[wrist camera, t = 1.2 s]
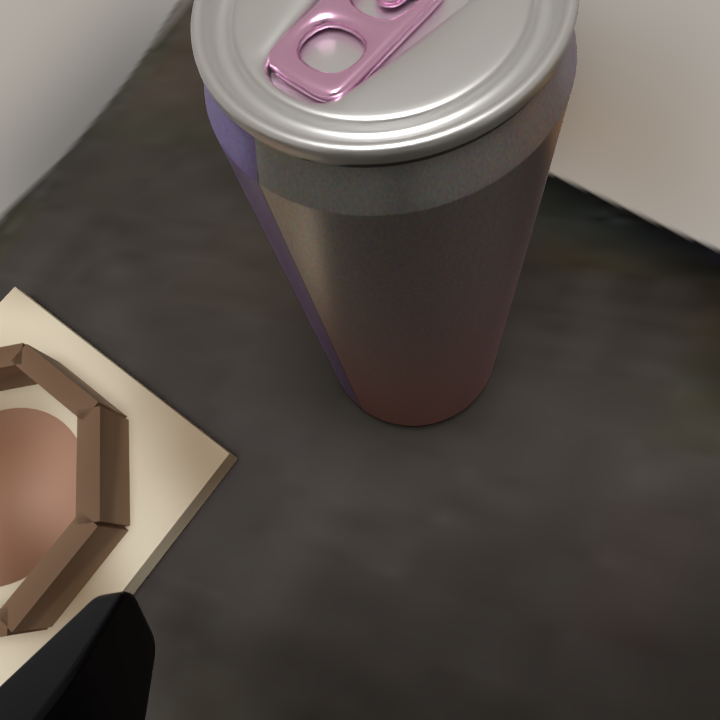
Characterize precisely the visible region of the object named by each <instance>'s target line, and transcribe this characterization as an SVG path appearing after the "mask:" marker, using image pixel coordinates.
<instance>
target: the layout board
mask: <svg viewBox="0 0 720 720" xmlns="http://www.w3.org/2000/svg"><path fill="white" fill-rule="evenodd" d="M237 460H238V458H237V457H236V456H234V455H233V454H232V453H231V452H229V451H228V450H227V449H225V448H224V447H223V446H222V445H220V444H219V443H218V442H216V441H215V440H214V439H212V438H211V437H210V436H209V435H207V434H206V433H205V432H203V431H202V430H201V429H200V428H198V427H197V426H196V425H194V424H193V423H192V422H191V421H189V420H188V419H187V418H185V417H184V416H183V415H181V414H180V413H179V412H178V411H176V410H175V409H174V408H172V407H171V406H170V405H169V404H167V403H166V402H165V401H163V400H162V399H161V398H160V397H158V396H157V395H156V394H154V393H153V392H152V391H151V390H149V389H148V388H147V387H145V386H144V385H143V384H141V383H140V382H139V381H138V380H136V379H135V378H134V377H132V376H131V375H130V374H129V373H127V372H126V371H125V370H123V369H122V368H121V367H120V366H118V365H117V364H116V363H114V362H113V361H112V360H111V359H109V358H108V357H107V356H105V355H104V354H103V353H101V352H100V351H99V350H98V349H96V348H95V347H94V346H92V345H91V344H90V343H89V342H87V341H86V340H85V339H83V338H82V337H81V336H80V335H78V334H77V333H76V332H74V331H73V330H72V329H70V328H69V327H68V326H67V325H65V324H64V323H63V322H61V321H60V320H59V319H58V318H56V317H55V316H54V315H52V314H51V313H50V312H49V311H47V310H46V309H45V308H43V307H42V306H41V305H40V304H38V303H37V302H36V301H34V300H33V299H32V298H30V297H29V296H28V295H26V294H25V293H23V292H22V291H20V290H19V289H17V288H16V287H14V288H13V289H12V290H11V292H10V293H9V294H8V295H7V296H6V297H5V298H4V299H3V300H2V301H1V302H0V686H1V685H2V684H3V683H4V682H5V681H6V680H7V679H8V678H10V677H11V676H12V675H13V674H14V673H15V672H16V671H17V670H18V669H19V668H20V667H21V666H22V665H23V664H24V663H25V662H27V661H28V660H29V659H30V658H31V657H32V656H33V655H34V654H35V653H36V652H37V651H38V650H39V649H40V648H41V647H42V646H44V645H45V644H46V643H47V642H48V641H49V640H50V639H51V638H52V637H53V636H54V635H55V634H56V633H57V632H58V631H59V630H61V629H62V628H63V627H64V626H65V625H66V624H67V623H68V622H69V621H70V620H71V619H72V618H73V617H74V616H75V615H76V614H78V613H79V612H80V611H81V610H82V609H83V608H84V607H85V606H86V605H87V604H88V603H89V602H90V601H91V600H93V599H94V598H95V597H97V596H100V595H104V594H110V593H116V592H122V591H126V592H130V593H131V594H132V595H133V594H134V593H135V592H136V590H137V589H138V588H139V587H140V585H141V584H142V583H143V581H144V580H145V579H146V577H147V576H148V575H149V574H150V572H151V571H152V570H153V568H154V567H155V566H156V564H157V563H158V562H159V561H160V559H161V558H162V557H163V555H164V554H165V553H166V552H167V550H168V549H169V548H170V546H171V545H172V544H173V542H174V541H175V540H176V539H177V537H178V536H179V535H180V533H181V532H182V531H183V530H184V528H185V527H186V526H187V524H188V523H189V522H190V520H191V519H192V518H193V517H194V515H195V514H196V513H197V511H198V510H199V509H200V507H201V506H202V505H203V504H204V502H205V501H206V500H207V498H208V497H209V496H210V495H211V493H212V492H213V491H214V489H215V488H216V487H217V485H218V484H219V483H220V482H221V480H222V479H223V478H224V476H225V475H226V474H227V473H228V471H229V470H230V469H231V467H232V466H233V465H234V463H235V462H236V461H237Z"/></svg>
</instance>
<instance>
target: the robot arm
mask: <svg viewBox="0 0 720 720" xmlns="http://www.w3.org/2000/svg"><path fill="white" fill-rule="evenodd" d="M154 658H155V641H154V637H153V634H152V632H151V630H150V627H149V625H148V623H147V621H146V619H145V617H144V615H143V613H142V611H141V609H140V607H139V604H138V602H137V600H136V598H135V597H134V595H132V594H131V593H130V592H126V591H122V592H116V593H110V594H104V595H100V596H97V597H95V598H94V599H93V600H91V601H90V602H89V603H88V604H87V605H86V606H85V607H84V608H83V609H82V610H81V611H80V612H79V613H78V614H76V615H75V616H74V617H73V618H72V619H71V620H70V621H69V622H68V623H67V624H66V625H65V626H64V627H63V628H62V629H61V630H59V631H58V632H57V633H56V634H55V635H54V636H53V637H52V638H51V639H50V640H49V641H48V642H47V643H46V644H45V645H44V646H42V647H41V648H40V649H39V650H38V651H37V652H36V653H35V654H34V655H33V656H32V657H31V658H30V659H29V660H28V661H27V662H25V663H24V664H23V665H22V666H21V667H20V668H19V669H18V670H17V671H16V672H15V673H14V674H13V675H12V676H11V677H10V678H8V679H7V680H6V681H5V682H4V683H3V684H2V685H1V686H0V720H145V717H146V710H147V704H148V697H149V691H150V684H151V678H152V671H153V665H154Z"/></svg>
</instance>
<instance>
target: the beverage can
mask: <svg viewBox="0 0 720 720" xmlns="http://www.w3.org/2000/svg"><path fill="white" fill-rule="evenodd" d="M578 7H579V0H194V4H193V9H192V16H191V41H192V48H193V53H194V57H195V61H196V64H197V67H198V70H199V73H200V75H201V77H202V79H203V82H204V94H205V102H206V108H207V112H208V116H209V119H210V122H211V125H212V128H213V130H214V132H215V134H216V137H217V139H218V141H219V143H220V145H221V147H222V149H223V151H224V153H225V155H226V157H227V159H228V161H229V163H230V165H231V167H232V169H233V171H234V173H235V175H236V177H237V178H238V180H239V182H240V184H241V186H242V188H243V190H244V192H245V194H246V196H247V198H248V200H249V202H250V204H251V206H252V208H253V210H254V212H255V214H256V216H257V218H258V220H259V222H260V224H261V226H262V228H263V230H264V232H265V234H266V236H267V238H268V240H269V242H270V244H271V246H272V248H273V250H274V252H275V254H276V256H277V258H278V260H279V262H280V264H281V266H282V268H283V270H284V272H285V274H286V276H287V278H288V280H289V282H290V284H291V286H292V288H293V290H294V292H295V294H296V296H297V298H298V300H299V302H300V304H301V306H302V308H303V310H304V312H305V314H306V316H307V318H308V320H309V322H310V324H311V326H312V328H313V330H314V332H315V334H316V336H317V337H318V339H319V341H320V343H321V345H322V347H323V349H324V351H325V353H326V355H327V357H328V359H329V361H330V363H331V365H332V367H333V369H334V371H335V373H336V375H337V377H338V379H339V381H340V383H341V385H342V387H343V388H344V390H345V391H346V393H347V394H348V396H349V397H350V398H351V399H352V400H353V401H354V402H355V403H356V404H357V405H358V406H359V407H360V408H362V409H363V410H364V411H366V412H367V413H369V414H371V415H372V416H374V417H376V418H378V419H381V420H383V421H386V422H389V423H393V424H398V425H406V426H420V425H428V424H433V423H437V422H440V421H443V420H446V419H448V418H450V417H452V416H454V415H456V414H458V413H459V412H461V411H462V410H464V409H465V408H466V407H468V406H469V405H470V404H471V403H472V402H473V401H474V400H475V399H476V398H477V397H478V396H479V395H480V393H481V392H482V391H483V389H484V387H485V386H486V384H487V382H488V380H489V378H490V376H491V373H492V370H493V367H494V364H495V360H496V356H497V353H498V349H499V346H500V342H501V339H502V335H503V332H504V328H505V325H506V321H507V318H508V314H509V310H510V307H511V303H512V300H513V296H514V293H515V289H516V286H517V282H518V279H519V275H520V272H521V268H522V264H523V261H524V257H525V254H526V250H527V247H528V243H529V240H530V236H531V233H532V229H533V225H534V222H535V218H536V215H537V211H538V208H539V204H540V201H541V197H542V194H543V190H544V187H545V183H546V179H547V176H548V172H549V169H550V165H551V162H552V158H553V155H554V151H555V148H556V144H557V140H558V137H559V133H560V130H561V126H562V123H563V119H564V115H565V112H566V109H567V105H568V101H569V98H570V94H571V91H572V87H573V83H574V79H575V74H576V65H577V45H576V35H575V29H574V28H575V24H576V19H577V15H578Z"/></svg>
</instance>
